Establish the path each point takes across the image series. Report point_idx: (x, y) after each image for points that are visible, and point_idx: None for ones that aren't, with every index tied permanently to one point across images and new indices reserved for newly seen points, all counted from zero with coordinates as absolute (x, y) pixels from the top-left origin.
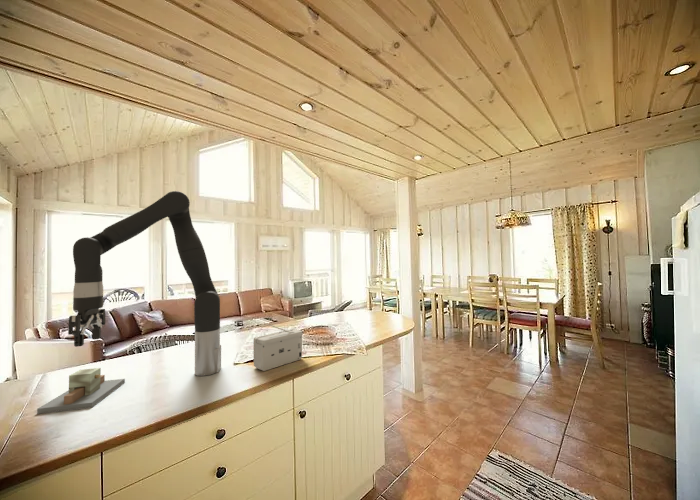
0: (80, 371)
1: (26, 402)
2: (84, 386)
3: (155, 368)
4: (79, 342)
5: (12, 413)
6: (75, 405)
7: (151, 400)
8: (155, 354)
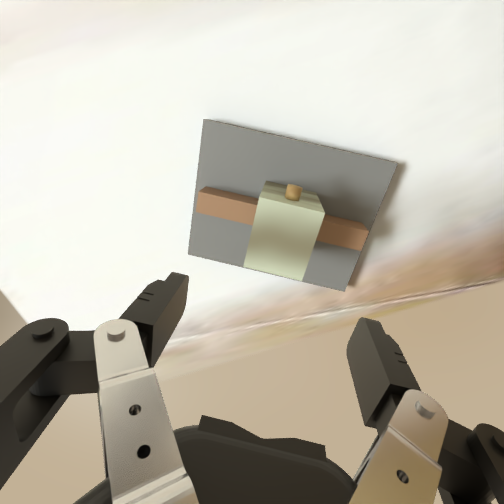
0: (269, 259)
1: (245, 328)
2: None
3: (75, 27)
4: (397, 349)
5: (303, 330)
6: (377, 208)
7: None
8: None
